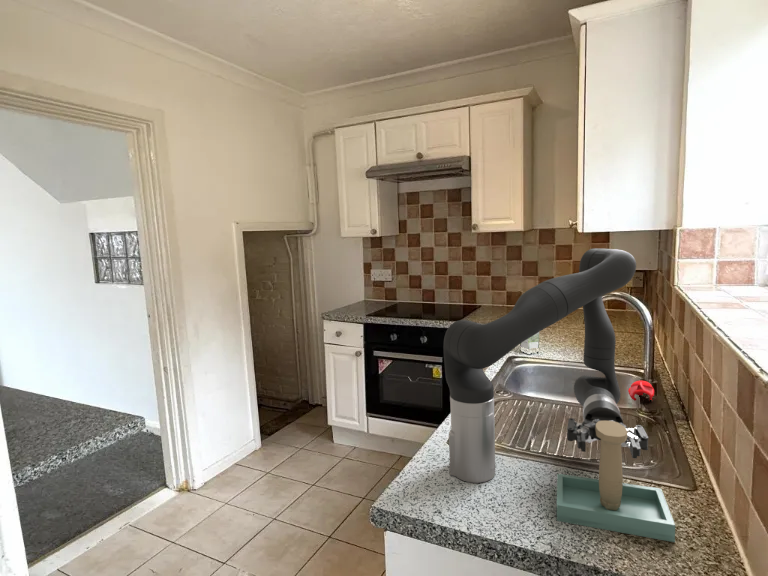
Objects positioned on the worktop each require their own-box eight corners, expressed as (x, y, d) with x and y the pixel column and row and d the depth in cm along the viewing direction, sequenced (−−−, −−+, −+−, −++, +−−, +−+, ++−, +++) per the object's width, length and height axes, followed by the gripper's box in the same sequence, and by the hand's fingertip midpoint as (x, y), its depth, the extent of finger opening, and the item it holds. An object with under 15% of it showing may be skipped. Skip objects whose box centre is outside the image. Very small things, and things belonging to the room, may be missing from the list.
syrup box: (531, 350, 191) (530, 317, 190) (539, 353, 186) (539, 319, 184) (519, 352, 189) (519, 318, 188) (528, 355, 184) (528, 321, 182)
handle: (620, 497, 83) (621, 421, 81) (629, 519, 77) (630, 437, 75) (592, 494, 84) (593, 419, 82) (599, 515, 78) (599, 435, 76)
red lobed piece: (659, 395, 126) (658, 379, 130) (637, 387, 127) (637, 371, 131) (645, 409, 131) (645, 394, 136) (625, 402, 133) (625, 387, 137)
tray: (556, 520, 79) (556, 505, 78) (557, 487, 89) (557, 473, 88) (674, 542, 72) (675, 525, 72) (660, 503, 82) (661, 488, 82)
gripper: (566, 396, 99) (567, 426, 84) (639, 402, 94) (653, 435, 79) (566, 428, 100) (567, 463, 85) (638, 436, 94) (652, 475, 80)
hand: (608, 450), depth 82 cm, fingers open, 8 cm apart
